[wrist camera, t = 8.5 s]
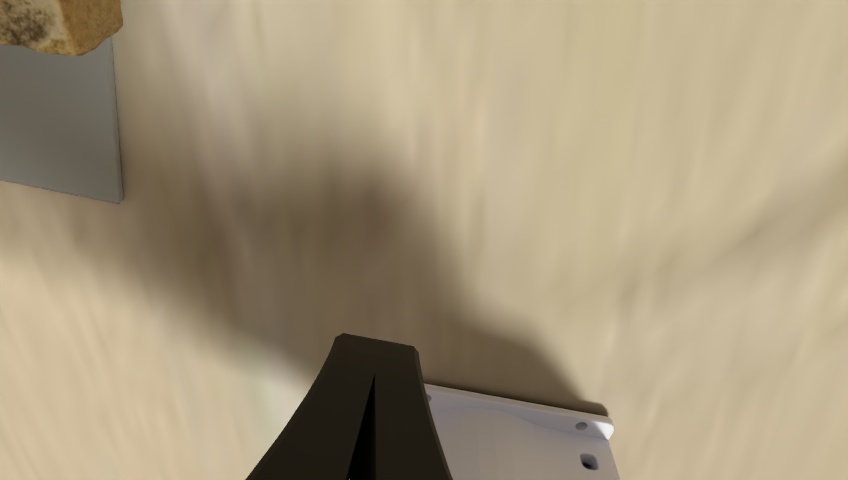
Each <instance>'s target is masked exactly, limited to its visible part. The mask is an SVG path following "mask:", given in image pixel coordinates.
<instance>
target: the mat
mask: <svg viewBox="0 0 848 480" xmlns="http://www.w3.org/2000/svg"><path fill="white" fill-rule="evenodd" d="M0 180H2V181H7V182H12V183H17V184H22V185H27V186H32V187H37V188H42V189H47V190H52V191H57V192H62V193H67V194H72V195H77V196H82V197H87V198H92V199H97V200H102V201H107V202H112V203H117V204H120V203H121V202H122V201H123V188H122V174H121V161H120V147H119V133H118V120H117V106H116V92H115V79H114V65H113V51H112V38H111V36H110V37H108V38H107V39H105V40H104V41H103V42H102V43H101V44H100V45H99V46H98V47H97V48H96V49H94V50H92V51H90V52H88V53H86V54H85V55H83V56H64V55H60V54H46V53H39V52H35V51H34V50H32V49H30V48H26V47H23V46H9V45H2V44H0Z"/></svg>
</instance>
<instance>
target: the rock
mask: <svg viewBox="0 0 848 480" xmlns="http://www.w3.org/2000/svg"><path fill="white" fill-rule="evenodd" d="M120 4H121V0H0V44H2V45H9V46H23V47H26V48H30V49H32V50H34V51H35V52H39V53H46V54H60V55H64V56H83V55H85V54H86V53H88V52H90V51H92V50H94V49H96V48H97V47H98V46H99V45H100V44H101V43H102V42H103V41H104V40H105V39H107V38H108V37H110V36H111V35H112V34H114V33H116V32H117V31H118V30H119V29H120V28H121V27H122V26H123V18H122V12H121V6H120Z"/></svg>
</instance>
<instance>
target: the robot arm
mask: <svg viewBox="0 0 848 480" xmlns="http://www.w3.org/2000/svg"><path fill="white" fill-rule="evenodd" d="M426 394H428V396H427V395H426ZM580 422H582V423H580ZM613 431H614V425H613V422H612V420H611V419H610V418H609V417H606V416H601V415H595V414H590V413H584V412H579V411H573V410H568V409H562V408H557V407H551V406H546V405H540V404H535V403H529V402H524V401H518V400H513V399H507V398H502V397H496V396H491V395H485V394H480V393H474V392H469V391H463V390H458V389H452V388H447V387H441V386H435V385H430V384H424V382H423V377H422V372H421V367H420V361H419V353H418V351H417V350H416V349H415V347H414V346H409V345H404V344H398V343H393V342H388V341H382V340H377V339H372V338H366V337H361V336H355V335H350V334H345V333H343V334H341V335H339V336H337V337H336V338H335V341H334V343H333V346H332V349H331V351H330V353H329V355H328V357H327V359H326V361H325V363H324V365H323V367H322V369H321V371H320V373H319V375H318V376H317V378H316V380H315V381H314V383H313V385H312V386H311V388H310V390H309V392H308V393H307V395H306V396H305V398H304V399H303V401H302V402H301V404H300V405H299V407H298V408H297V410H296V411H295V413H294V414H293V416H292V417H291V419H290V420H289V422H288V423H287V425H286V426H285V428H284V429H283V431H282V432H281V434H280V435H279V436H278V438H277V439H276V440H275V442H274V443H273V444H272V446H271V447H270V448H269V450H268V451H267V452H266V454H265V455H264V456H263V457H262V459H261V460H260V461H259V463H258V464H257V465H256V467H255V468H254V469H253V471H252V472H251V473H250V475H249V476H248V477H247V478H246V480H349V479H350V480H620V478H619V475H618V471H617V468H616V465H615V461H614V458H613V455H612V451H611V448H610V445H609V441H608V440H609V438H610V436H611V435H612V433H613Z"/></svg>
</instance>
